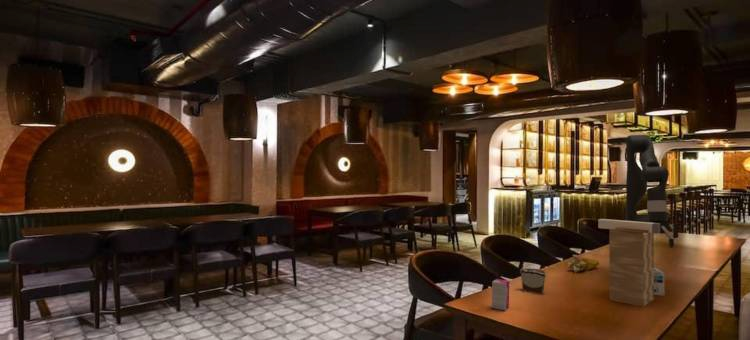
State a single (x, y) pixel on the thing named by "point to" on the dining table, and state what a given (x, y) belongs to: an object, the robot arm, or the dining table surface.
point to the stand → (631, 266)
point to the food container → (533, 280)
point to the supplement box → (500, 295)
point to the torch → (582, 264)
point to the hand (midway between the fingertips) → (659, 247)
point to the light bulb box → (659, 282)
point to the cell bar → (629, 225)
